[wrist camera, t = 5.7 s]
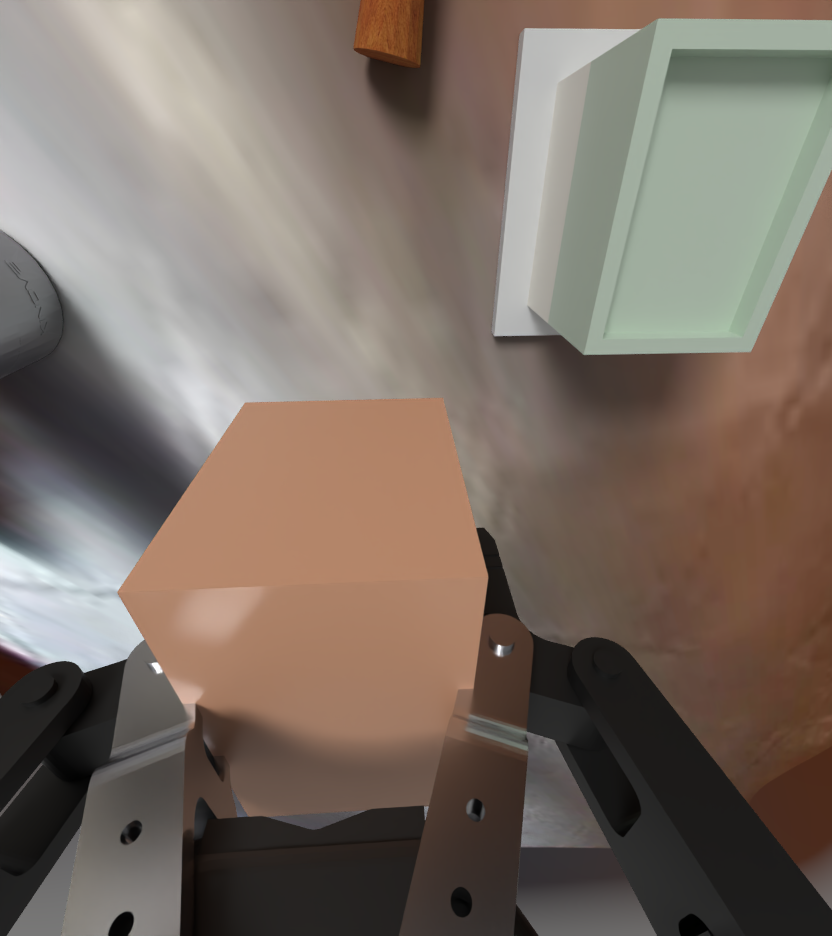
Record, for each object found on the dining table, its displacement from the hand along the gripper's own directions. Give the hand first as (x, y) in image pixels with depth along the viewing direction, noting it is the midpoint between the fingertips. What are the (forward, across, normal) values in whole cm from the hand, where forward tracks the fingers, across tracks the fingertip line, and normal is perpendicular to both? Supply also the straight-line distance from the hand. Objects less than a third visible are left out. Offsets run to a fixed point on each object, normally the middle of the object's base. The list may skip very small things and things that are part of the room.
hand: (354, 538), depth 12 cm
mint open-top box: (+21, -14, -8) cm, 26 cm away
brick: (+1, 0, 0) cm, 1 cm away
